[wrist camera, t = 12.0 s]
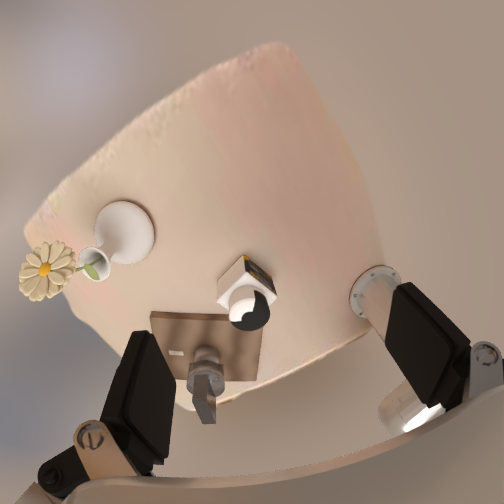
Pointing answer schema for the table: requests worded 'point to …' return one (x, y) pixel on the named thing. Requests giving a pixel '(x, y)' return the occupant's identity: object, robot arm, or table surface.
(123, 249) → the flower in vase
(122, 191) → the table surface
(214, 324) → the brown wooden board
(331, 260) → the table surface
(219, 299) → the medicine bottle
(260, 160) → the table surface
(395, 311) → the robot arm
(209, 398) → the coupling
